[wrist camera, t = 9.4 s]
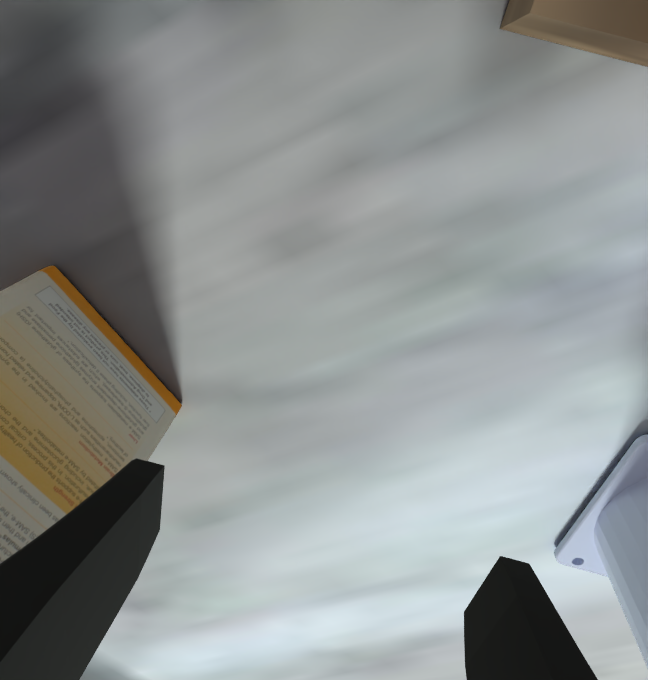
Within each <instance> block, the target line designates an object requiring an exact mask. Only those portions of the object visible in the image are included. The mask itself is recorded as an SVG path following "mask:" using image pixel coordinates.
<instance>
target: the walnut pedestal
mask: <svg viewBox="0 0 648 680" xmlns="http://www.w3.org/2000/svg"><path fill="white" fill-rule="evenodd" d="M500 29H503V30H507V31H511V32H514V33H518V34H522V35H526V36H530V37H534V38H538V39H542V40H546V41H549V42H553V43H557V44H561V45H565V46H569V47H573V48H577V49H580V50H584V51H588V52H592V53H596V54H600V55H604V56H608V57H612V58H615V59H619V60H623V61H627V62H631V63H635V64H639V65H643V66H646V67H648V0H510V1H509V3H508V6H507V9H506V12H505V15H504V18H503V21H502V24H501V27H500Z"/></svg>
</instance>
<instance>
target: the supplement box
mask: <svg viewBox="0 0 648 680" xmlns="http://www.w3.org/2000/svg"><path fill="white" fill-rule="evenodd" d="M181 406H182V405H181V404H180V402H179V401H178V400H177V399H176V398H175V397H174V396H173V394H172V393H171V392H170V391H168V390H167V388H166V387H165V386H164V385H163V384H162V383H161V382H160V381H159V379H158V378H157V377H156V376H155V375H154V374H153V373H152V372H151V371H150V370H149V369H148V368H147V366H146V365H145V364H144V363H143V362H142V361H141V360H140V358H139V357H138V356H137V355H136V354H135V353H134V352H133V351H132V350H131V349H130V348H129V346H128V345H127V344H125V342H124V341H123V340H122V339H121V338H120V337H119V336H118V334H117V333H116V332H115V331H114V330H113V329H112V328H111V327H110V326H109V325H108V323H107V322H106V321H105V320H104V319H103V318H102V317H101V316H100V315H99V314H98V313H97V312H96V310H95V309H94V308H93V307H92V306H91V305H90V304H89V303H88V302H87V301H86V300H85V298H84V297H83V296H82V295H81V294H80V293H79V292H78V291H77V289H76V288H75V287H74V286H73V285H72V284H71V283H70V282H69V280H68V279H67V278H66V277H65V276H63V274H62V273H61V272H60V271H59V270H58V269H57V268H56V267H55V266H52V265H51V266H48V267H46V268H43V269H41V270H39V271H37V272H35V273H34V274H32V275H30V276H28V277H26V278H24V279H22V280H21V281H19V282H17V283H15V284H13V285H11V286H10V287H8V288H6V289H4V290H2V291H0V563H2V562H3V561H5V560H6V559H7V558H9V557H10V556H12V555H13V554H14V553H16V552H17V551H19V550H20V549H21V548H23V547H24V546H26V545H27V544H28V543H30V542H31V541H32V540H34V539H35V538H37V537H38V536H39V535H41V534H42V533H43V532H44V531H46V530H47V529H48V528H50V527H51V526H52V525H53V524H55V523H56V522H57V521H59V520H60V519H61V518H63V517H64V516H65V515H66V514H68V513H69V512H70V511H72V510H73V509H74V508H75V507H77V506H78V505H79V504H80V503H82V502H83V501H84V500H85V499H87V498H88V497H89V496H90V495H91V494H93V493H94V492H95V491H96V490H97V489H99V488H100V487H101V486H102V485H103V484H105V483H106V482H107V481H108V480H109V479H111V478H112V477H113V476H114V475H115V474H116V473H118V472H119V471H120V470H121V469H122V468H123V467H125V466H126V465H127V464H128V463H129V462H130V461H132V460H134V459H136V458H137V459H141V460H145V461H148V459H149V458H150V456H151V455H152V453H153V452H154V450H155V448H156V447H157V445H158V443H159V442H160V440H161V439H162V437H163V436H164V434H165V433H166V431H167V430H168V428H169V426H170V425H171V423H172V421H173V419H174V418H175V417H176V415H177V413H178V412H179V410H180V408H181Z"/></svg>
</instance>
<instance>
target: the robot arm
mask: <svg viewBox="0 0 648 680" xmlns="http://www.w3.org/2000/svg"><path fill="white" fill-rule="evenodd" d="M163 479H164V465H160V464H156V463H152V462H149V461H145V460H141V459H137V458H136V459H134V460H132V461H130V462H129V463H128V464H127V465H126V466H125V467H123V468H122V469H121V470H120V471H119V472H118V473H116V474H115V475H114V476H113V477H112V478H111V479H109V480H108V481H107V482H106V483H105V484H103V485H102V486H101V487H100V488H99V489H97V490H96V491H95V492H94V493H93V494H91V495H90V496H89V497H88V498H87V499H85V500H84V501H83V502H82V503H80V504H79V505H78V506H77V507H75V508H74V509H73V510H72V511H70V512H69V513H68V514H66V515H65V516H64V517H63V518H61V519H60V520H59V521H57V522H56V523H55V524H53V525H52V526H51V527H50V528H48V529H47V530H46V531H44V532H43V533H42V534H41V535H39V536H38V537H37V538H35V539H34V540H32V541H31V542H30V543H28V544H27V545H26V546H24V547H23V548H21V549H20V550H19V551H17V552H16V553H14V554H13V555H12V556H10V557H9V558H7V559H6V560H5V561H3V562H2V563H0V680H79V679H80V677H81V676H82V674H83V672H84V671H85V669H86V667H87V665H88V664H89V662H90V660H91V658H92V657H93V655H94V653H95V652H96V650H97V648H98V646H99V645H100V643H101V641H102V640H103V638H104V636H105V634H106V633H107V631H108V629H109V627H110V626H111V624H112V622H113V621H114V619H115V617H116V615H117V614H118V612H119V610H120V608H121V607H122V605H123V603H124V602H125V600H126V598H127V596H128V595H129V593H130V591H131V589H132V588H133V586H134V584H135V582H136V581H137V579H138V577H139V575H140V572H141V570H142V568H143V566H144V564H145V562H146V559H147V557H148V555H149V553H150V551H151V548H152V546H153V544H154V541H155V539H156V537H157V535H158V532H159V530H160V519H161V505H162V492H163ZM554 555H555V558H556V561H557V562H558V563H560V564H563V565H566V566H570V567H574V568H577V569H581V570H585V571H588V572H592V573H596V574H600V575H603V576H607V577H609V579H610V582H611V584H612V586H613V589H614V591H615V593H616V596H617V598H618V600H619V603H620V605H621V607H622V610H623V612H624V614H625V617H626V619H627V621H628V624H629V626H630V628H631V631H632V633H633V635H634V638H635V640H636V643H637V645H638V647H639V650H640V652H641V654H642V657H643V659H644V661H645V664H646V666H647V668H648V434H647V435H642V436H640V437H638V438H637V439H636V440H635V441H634V442H633V444H632V445H631V446H630V448H629V449H628V451H627V452H626V453H625V455H624V456H623V457H622V459H621V460H620V461H619V463H618V464H617V466H616V467H615V468H614V470H613V471H612V472H611V474H610V475H609V477H608V478H607V479H606V481H605V482H604V483H603V485H602V486H601V487H600V489H599V490H598V492H597V493H596V494H595V496H594V497H593V498H592V500H591V501H590V502H589V504H588V505H587V507H586V508H585V509H584V511H583V512H582V513H581V515H580V516H579V518H578V519H577V520H576V522H575V523H574V524H573V526H572V527H571V528H570V530H569V531H568V533H567V534H566V535H565V537H564V538H563V539H562V541H561V542H560V544H559V545H558V546H557V548H556V549H555V551H554ZM464 644H465V668H466V676H467V680H598V679H597V678H596V676H595V674H594V673H593V671H592V669H591V668H590V666H589V665H588V663H587V661H586V660H585V658H584V656H583V655H582V653H581V651H580V650H579V648H578V646H577V645H576V643H575V641H574V640H573V638H572V636H571V634H570V633H569V631H568V629H567V628H566V626H565V624H564V623H563V621H562V619H561V617H560V616H559V614H558V612H557V611H556V609H555V607H554V605H553V604H552V602H551V600H550V598H549V597H548V595H547V593H546V592H545V590H544V588H543V586H542V585H541V583H540V581H539V580H538V578H537V576H536V574H535V573H534V571H533V569H532V568H531V566H530V564H528V563H525V562H521V561H517V560H513V559H510V558H506V557H502V556H500V557H499V559H498V560H497V562H496V563H495V565H494V567H493V568H492V570H491V571H490V573H489V574H488V576H487V577H486V579H485V580H484V582H483V584H482V585H481V587H480V588H479V590H478V591H477V593H476V594H475V596H474V597H473V599H472V601H471V602H470V604H469V605H468V607H467V608H466V610H465V611H464Z"/></svg>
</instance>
